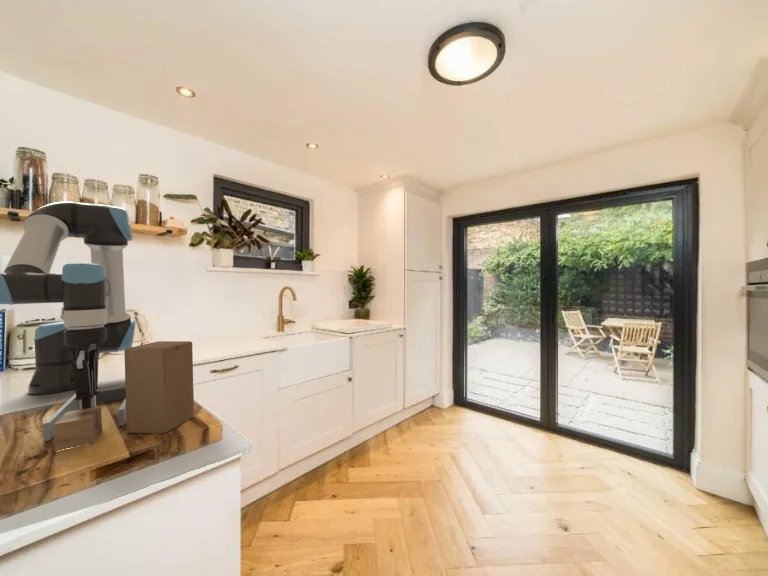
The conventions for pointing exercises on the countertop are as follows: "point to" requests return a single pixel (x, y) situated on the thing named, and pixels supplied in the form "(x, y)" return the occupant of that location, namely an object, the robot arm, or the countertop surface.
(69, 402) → the grey u-shaped frame
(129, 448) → the countertop surface
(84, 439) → the walnut block
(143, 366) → the wooden block
